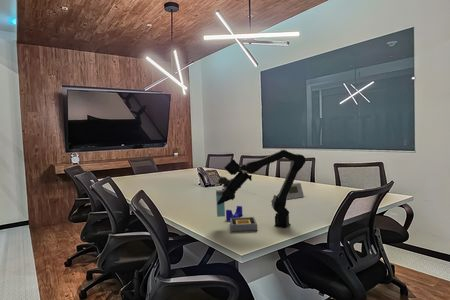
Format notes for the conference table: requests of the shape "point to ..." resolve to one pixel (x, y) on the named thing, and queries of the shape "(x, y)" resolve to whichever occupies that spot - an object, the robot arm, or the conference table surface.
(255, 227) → the socket box
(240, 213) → the cable clip
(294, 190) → the digital clock
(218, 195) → the plug
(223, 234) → the conference table surface
